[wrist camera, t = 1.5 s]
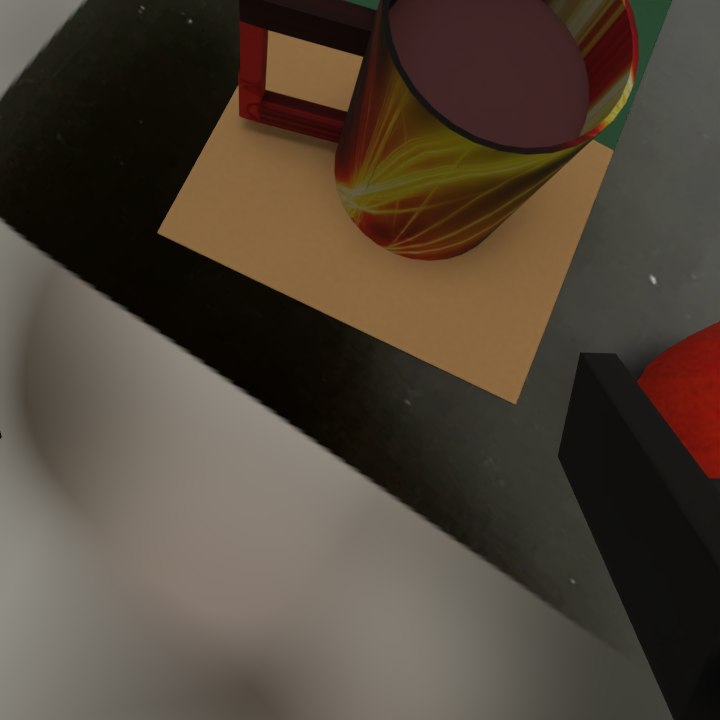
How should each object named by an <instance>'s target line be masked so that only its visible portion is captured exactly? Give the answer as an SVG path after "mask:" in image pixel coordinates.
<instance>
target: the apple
mask: <svg viewBox="0 0 720 720" xmlns="http://www.w3.org/2000/svg"><path fill="white" fill-rule="evenodd" d="M637 383H638V384H639V386H640V387H641V388H642V390H643V391H644V392H645V394H646V395H647V396H648V398H649V399H650V400H651V402H652V403H653V404H654V406H655V407H656V408H657V410H658V411H659V412H660V414H661V415H662V416H663V418H664V419H665V420H666V422H667V423H668V424H669V426H670V427H671V428H672V430H673V431H674V432H675V434H676V435H677V436H678V438H679V439H680V440H681V442H682V443H683V444H684V446H685V447H686V448H687V450H688V451H689V452H690V454H691V455H692V456H693V458H694V459H695V460H696V462H697V463H698V464H699V466H700V467H701V468H702V470H703V471H704V472H705V474H706V475H707V476H708V478H720V322H718V323H715V324H713V325H711V326H709V327H707V328H705V329H703V330H701V331H699V332H697V333H695V334H693V335H691V336H689V337H687V338H686V339H684V340H682V341H680V342H679V343H677V344H675V345H674V346H672V347H670V348H669V349H667V350H666V351H665V352H663V353H662V354H661V355H659V356H658V357H657V358H656V359H654V360H653V361H652V362H650V363H649V364H648V366H647V367H646V369H645V370H644V372H643V373H642V375H641V377H640V378H639V379H638V381H637Z"/></svg>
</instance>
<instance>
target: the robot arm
mask: <svg viewBox="0 0 720 720" xmlns="http://www.w3.org/2000/svg"><path fill="white" fill-rule="evenodd" d="M1 437H2V436H1V433H0V438H1ZM558 458H559V460H560V462H561V464H562V467H563V469H564V471H565V474H566V476H567V478H568V480H569V483H570V485H571V487H572V489H573V492H574V494H575V496H576V499H577V501H578V503H579V505H580V508H581V510H582V512H583V514H584V517H585V519H586V521H587V524H588V526H589V528H590V530H591V533H592V535H593V537H594V539H595V542H596V544H597V546H598V549H599V551H600V553H601V555H602V558H603V560H604V562H605V565H606V567H607V569H608V571H609V574H610V576H611V578H612V580H613V583H614V585H615V587H616V590H617V592H618V594H619V596H620V599H621V601H622V603H623V605H624V608H625V610H626V612H627V615H628V617H629V619H630V621H631V624H632V626H633V628H634V630H635V633H636V635H637V637H638V640H639V642H640V644H641V646H642V649H643V651H644V653H645V655H646V658H647V660H648V662H649V665H650V667H651V669H652V671H653V674H654V676H655V678H656V680H657V683H658V685H659V687H660V690H661V692H662V694H663V696H664V698H665V701H666V703H667V705H668V708H669V710H670V712H671V714H672V717H673V719H674V720H720V478H708V476H707V475H706V474H705V472H704V471H703V470H702V468H701V467H700V466H699V464H698V463H697V462H696V460H695V459H694V458H693V456H692V455H691V454H690V452H689V451H688V450H687V448H686V447H685V446H684V444H683V443H682V442H681V440H680V439H679V438H678V436H677V435H676V434H675V432H674V431H673V430H672V428H671V427H670V426H669V424H668V423H667V422H666V420H665V419H664V418H663V416H662V415H661V414H660V412H659V411H658V410H657V408H656V407H655V406H654V404H653V403H652V402H651V400H650V399H649V398H648V396H647V395H646V394H645V392H644V391H643V390H642V388H641V387H640V386H639V384H638V383H637V382H636V380H635V379H634V378H633V376H632V375H631V374H630V372H629V371H628V370H627V368H626V367H625V366H624V364H623V363H622V362H621V360H620V359H619V358H618V356H617V355H616V354H608V353H580V357H579V361H578V366H577V371H576V375H575V380H574V384H573V389H572V393H571V398H570V403H569V407H568V412H567V416H566V421H565V426H564V430H563V435H562V439H561V444H560V448H559V453H558Z"/></svg>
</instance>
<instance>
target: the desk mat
mask: <svg viewBox="0 0 720 720" xmlns="http://www.w3.org/2000/svg"><path fill="white" fill-rule="evenodd" d="M344 1H347V2H351V3H354V4H358V5H361V6H364V7H368V8H371V9H375V10H377V8H378V5H379V1H380V0H344ZM628 1H629V3H630V5H631V8H632V10H633V13H634V18H635V22H636V27H637V31H638V39H639V62H638V68H637V73H636V79H635V83H634V85H633V88H632V90H631V92H630V95H629V97H628V100H627V102H626V104H625V105H624V106H623V108H622V109H621V111H620V112H619V113H618V115H617V116H616V118H615V119H614V120H613V121H612V122H611V123H610V124H609V125H608V126H607V127H606V128H605V129H604V130H603V131H602V132H600V133H599V134H598V135H597V136H596V137H595V138H594V139H593V140H592V141H591V142H590V143H589V144H587V145H586V146H585V147H584V148H583V149H582V150H581V151H580V152H579V153H578V154H577V155H576V156H575V157H573V158H572V159H571V160H570V161H569V162H568V163H567V164H566V165H565V166H564V167H563V168H562V169H560V170H559V171H558V172H557V173H556V174H555V175H554V176H553V177H552V178H551V179H550V180H549V181H547V182H546V183H545V184H544V185H543V186H542V187H541V188H540V189H539V190H538V191H537V192H536V193H534V194H533V195H532V196H531V197H530V198H529V199H528V200H527V201H526V202H525V203H524V204H523V205H522V206H520V207H519V208H518V209H517V210H516V211H515V212H514V213H513V214H512V215H511V216H510V217H509V218H507V219H506V220H505V221H504V222H503V223H502V224H501V225H500V226H499V227H498V228H497V229H496V230H494V231H493V232H492V233H491V234H490V235H489V236H488V237H487V238H486V239H485V240H483V241H482V242H481V243H480V244H479V245H478V246H476V247H475V248H473V249H471V250H469V251H467V252H466V253H464V254H462V255H458V256H455V257H452V258H449V259H443V260H433V261H427V260H417V259H410V258H407V257H404V256H400V255H397V254H394V253H392V252H390V251H388V250H386V249H384V248H383V247H381V246H379V245H377V244H376V243H375V242H374V241H372V240H371V239H370V238H368V237H367V236H366V235H365V234H364V233H363V232H362V231H361V230H360V229H359V228H358V227H357V226H356V224H355V223H354V222H353V221H352V220H351V218H350V216H349V214H348V213H347V211H346V209H345V208H344V206H343V204H342V201H341V198H340V196H339V193H338V190H337V186H336V179H335V173H334V168H335V154H336V150H337V146H338V143H335V142H331V141H327V140H323V139H319V138H316V137H312V136H308V135H304V134H300V133H297V132H293V131H289V130H285V129H281V128H277V127H274V126H270V125H266V124H262V123H257V122H254V121H251V120H248V119H245V118H242V117H240V116H239V85H238V87H237V89H236V91H235V92H234V94H233V96H232V98H231V100H230V101H229V103H228V105H227V107H226V109H225V111H224V112H223V114H222V116H221V118H220V120H219V121H218V123H217V125H216V127H215V129H214V131H213V132H212V134H211V136H210V138H209V140H208V141H207V143H206V145H205V147H204V149H203V150H202V152H201V154H200V156H199V158H198V160H197V161H196V163H195V165H194V167H193V169H192V170H191V172H190V174H189V176H188V178H187V180H186V181H185V183H184V185H183V187H182V189H181V190H180V192H179V194H178V196H177V198H176V200H175V201H174V203H173V205H172V207H171V209H170V210H169V212H168V214H167V216H166V218H165V219H164V221H163V223H162V225H161V227H160V229H159V230H158V232H157V233H158V234H160V235H162V236H164V237H166V238H168V239H170V240H172V241H174V242H176V243H178V244H181V245H183V246H185V247H187V248H189V249H191V250H193V251H195V252H197V253H199V254H201V255H203V256H206V257H208V258H210V259H212V260H214V261H216V262H218V263H220V264H222V265H224V266H226V267H229V268H231V269H233V270H235V271H237V272H239V273H241V274H243V275H245V276H247V277H249V278H251V279H254V280H256V281H258V282H260V283H262V284H264V285H266V286H268V287H270V288H272V289H274V290H277V291H279V292H281V293H283V294H285V295H287V296H289V297H291V298H293V299H295V300H297V301H299V302H302V303H304V304H306V305H308V306H310V307H312V308H314V309H316V310H318V311H320V312H322V313H325V314H327V315H329V316H331V317H333V318H335V319H337V320H339V321H341V322H343V323H345V324H347V325H350V326H352V327H354V328H356V329H358V330H360V331H362V332H364V333H366V334H368V335H370V336H373V337H375V338H377V339H379V340H381V341H383V342H385V343H387V344H389V345H391V346H393V347H395V348H398V349H400V350H402V351H404V352H406V353H408V354H410V355H412V356H414V357H416V358H418V359H421V360H423V361H425V362H427V363H429V364H431V365H433V366H435V367H437V368H439V369H441V370H443V371H446V372H448V373H450V374H452V375H454V376H456V377H458V378H460V379H462V380H464V381H466V382H469V383H471V384H473V385H475V386H477V387H479V388H481V389H483V390H485V391H487V392H489V393H491V394H494V395H496V396H498V397H500V398H502V399H504V400H506V401H508V402H510V403H512V404H514V405H516V403H517V400H518V397H519V395H520V392H521V390H522V387H523V384H524V382H525V379H526V377H527V374H528V372H529V369H530V366H531V364H532V361H533V359H534V356H535V353H536V351H537V348H538V346H539V343H540V340H541V338H542V335H543V333H544V330H545V328H546V325H547V322H548V320H549V317H550V315H551V312H552V309H553V307H554V304H555V302H556V299H557V296H558V294H559V291H560V289H561V286H562V283H563V281H564V278H565V276H566V273H567V271H568V268H569V265H570V263H571V260H572V258H573V255H574V252H575V250H576V247H577V245H578V242H579V239H580V237H581V234H582V232H583V229H584V227H585V224H586V221H587V219H588V216H589V214H590V211H591V208H592V206H593V203H594V201H595V198H596V195H597V193H598V190H599V188H600V185H601V182H602V180H603V177H604V175H605V172H606V170H607V167H608V164H609V162H610V159H611V157H612V154H613V151H614V149H615V146H616V144H617V141H618V138H619V136H620V133H621V131H622V128H623V126H624V123H625V120H626V118H627V115H628V113H629V110H630V107H631V105H632V102H633V100H634V97H635V94H636V92H637V89H638V87H639V84H640V81H641V79H642V76H643V74H644V71H645V69H646V66H647V63H648V61H649V58H650V56H651V53H652V50H653V48H654V45H655V43H656V40H657V37H658V35H659V32H660V30H661V27H662V25H663V22H664V19H665V17H666V14H667V12H668V9H669V6H670V4H671V1H672V0H628ZM362 60H363V57H361V56H358V55H354V54H350V53H347V52H343V51H340V50H336V49H333V48H329V47H326V46H322V45H319V44H315V43H311V42H308V41H304V40H301V39H297V38H294V37H290V36H287V35H283V34H280V33H276V32H272V31H268V50H267V69H266V88H265V90H269V91H272V92H276V93H280V94H284V95H287V96H291V97H295V98H298V99H302V100H306V101H310V102H313V103H317V104H321V105H325V106H328V107H332V108H336V109H339V110H343V111H348V108H349V105H350V101H351V98H352V94H353V91H354V87H355V84H356V80H357V77H358V74H359V70H360V67H361V63H362Z"/></svg>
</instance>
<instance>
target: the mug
mask: <svg viewBox="0 0 720 720" xmlns="http://www.w3.org/2000/svg"><path fill="white" fill-rule="evenodd" d="M239 3H240V69H239V72H238V84H239V116H240V117H242V118H245V119H248V120H251V121H254V122H257V123H262V124H266V125H270V126H274V127H277V128H281V129H285V130H289V131H293V132H297V133H300V134H304V135H308V136H312V137H316V138H319V139H323V140H327V141H331V142H335V143H338V146H337V150H336V154H335V168H334V173H335V179H336V186H337V190H338V193H339V196H340V198H341V201H342V204H343V206H344V208H345V209H346V211H347V213H348V214H349V216H350V218H351V220H352V221H353V222H354V223H355V224H356V226H357V227H358V228H359V229H360V230H361V231H362V232H363V233H364V234H365V235H366V236H367V237H368V238H370V239H371V240H372V241H374V242H375V243H376V244H377V245H379V246H381V247H383V248H384V249H386V250H388V251H390V252H392V253H394V254H397V255H400V256H404V257H407V258H410V259H417V260H427V261H433V260H443V259H449V258H452V257H455V256H458V255H462V254H464V253H466V252H467V251H469V250H471V249H473V248H475V247H476V246H478V245H479V244H480V243H481V242H482V241H483V240H485V239H486V238H487V237H488V236H489V235H490V234H491V233H492V232H493V231H494V230H496V229H497V228H498V227H499V226H500V225H501V224H502V223H503V222H504V221H505V220H506V219H507V218H509V217H510V216H511V215H512V214H513V213H514V212H515V211H516V210H517V209H518V208H519V207H520V206H522V205H523V204H524V203H525V202H526V201H527V200H528V199H529V198H530V197H531V196H532V195H533V194H534V193H536V192H537V191H538V190H539V189H540V188H541V187H542V186H543V185H544V184H545V183H546V182H547V181H549V180H550V179H551V178H552V177H553V176H554V175H555V174H556V173H557V172H558V171H559V170H560V169H562V168H563V167H564V166H565V165H566V164H567V163H568V162H569V161H570V160H571V159H572V158H573V157H575V156H576V155H577V154H578V153H579V152H580V151H581V150H582V149H583V148H584V147H585V146H586V145H587V144H589V143H590V142H591V141H592V140H593V139H594V138H595V137H596V136H597V135H598V134H599V133H600V132H602V131H603V130H604V129H605V128H606V127H607V126H608V125H609V124H610V123H611V122H612V121H613V120H614V119H615V118H616V116H617V115H618V113H619V112H620V111H621V109H622V108H623V106H624V105H625V104H626V102H627V100H628V97H629V95H630V92H631V90H632V88H633V85H634V83H635V79H636V73H637V68H638V62H639V39H638V31H637V27H636V22H635V18H634V13H633V10H632V8H631V5H630V3H629V1H628V0H380V1H379V5H378V8H377V10H375V9H371V8H368V7H364V6H361V5H358V4H354V3H351V2H347V1H344V0H239ZM268 31H272V32H276V33H280V34H283V35H287V36H290V37H294V38H297V39H301V40H304V41H308V42H311V43H315V44H319V45H322V46H326V47H329V48H333V49H336V50H340V51H343V52H347V53H350V54H354V55H358V56H361V57H363V60H362V63H361V67H360V70H359V74H358V77H357V80H356V84H355V87H354V91H353V94H352V98H351V101H350V105H349V108H348V111H343V110H339V109H336V108H332V107H328V106H325V105H321V104H317V103H313V102H310V101H306V100H302V99H298V98H295V97H291V96H287V95H284V94H280V93H276V92H272V91H269V90H265V88H266V69H267V50H268Z"/></svg>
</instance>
